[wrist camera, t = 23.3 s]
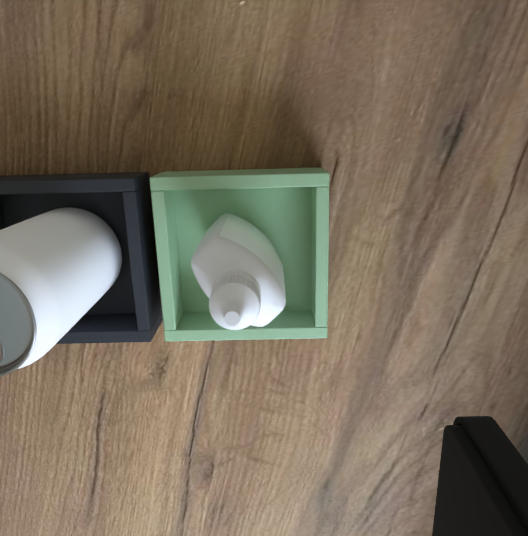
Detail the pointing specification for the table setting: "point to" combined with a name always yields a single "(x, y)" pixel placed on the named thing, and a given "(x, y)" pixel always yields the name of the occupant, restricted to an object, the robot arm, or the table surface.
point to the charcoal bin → (127, 232)
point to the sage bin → (261, 216)
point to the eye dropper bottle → (239, 274)
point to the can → (51, 279)
